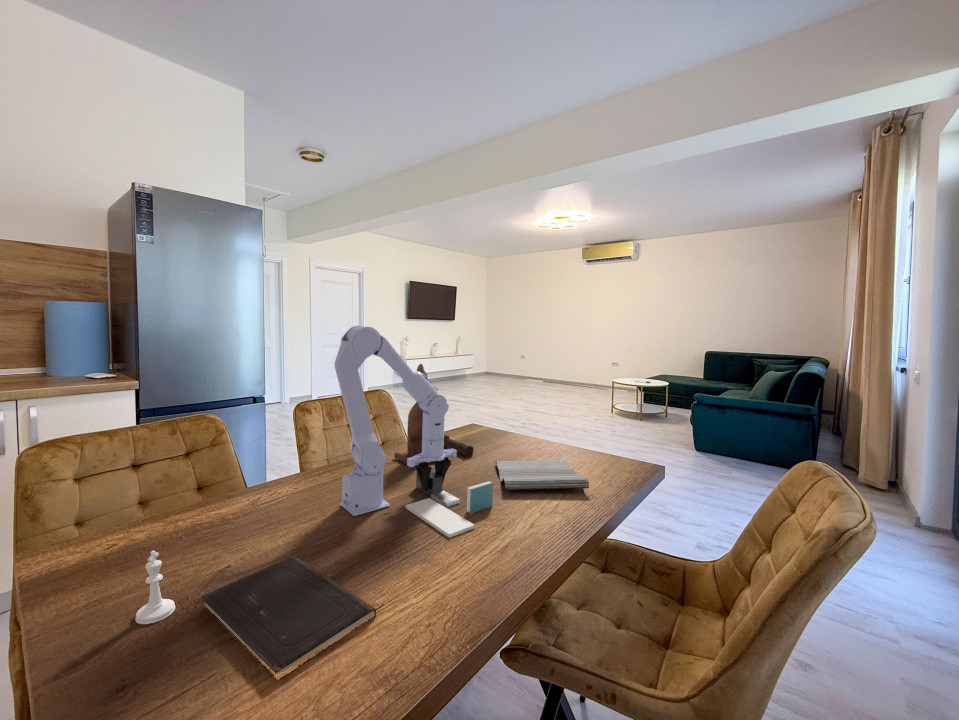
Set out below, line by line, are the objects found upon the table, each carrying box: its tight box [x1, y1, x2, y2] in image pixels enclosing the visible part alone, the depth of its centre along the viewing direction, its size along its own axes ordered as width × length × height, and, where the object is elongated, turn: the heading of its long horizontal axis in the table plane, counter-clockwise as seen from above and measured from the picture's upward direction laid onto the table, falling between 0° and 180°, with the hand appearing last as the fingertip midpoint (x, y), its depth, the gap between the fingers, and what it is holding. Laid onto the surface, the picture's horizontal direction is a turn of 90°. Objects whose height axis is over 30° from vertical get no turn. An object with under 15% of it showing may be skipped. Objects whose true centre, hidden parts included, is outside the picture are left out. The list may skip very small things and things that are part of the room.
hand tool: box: [444, 434, 474, 458], centre depth 153 cm, size 19×4×5 cm, turn 39°
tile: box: [466, 481, 494, 514], centre depth 106 cm, size 7×2×6 cm, turn 130°
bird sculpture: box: [393, 363, 428, 465], centre depth 139 cm, size 11×12×32 cm
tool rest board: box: [405, 497, 476, 539], centre depth 101 cm, size 7×18×1 cm, turn 40°
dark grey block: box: [415, 470, 461, 508], centre depth 113 cm, size 4×15×5 cm, turn 40°
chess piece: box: [134, 550, 176, 625], centre depth 66 cm, size 5×5×10 cm
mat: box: [495, 459, 590, 493], centre depth 127 cm, size 23×24×5 cm
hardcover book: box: [201, 555, 377, 673], centre depth 68 cm, size 16×23×2 cm
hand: (432, 487), depth 115 cm, fingers open, 4 cm apart
